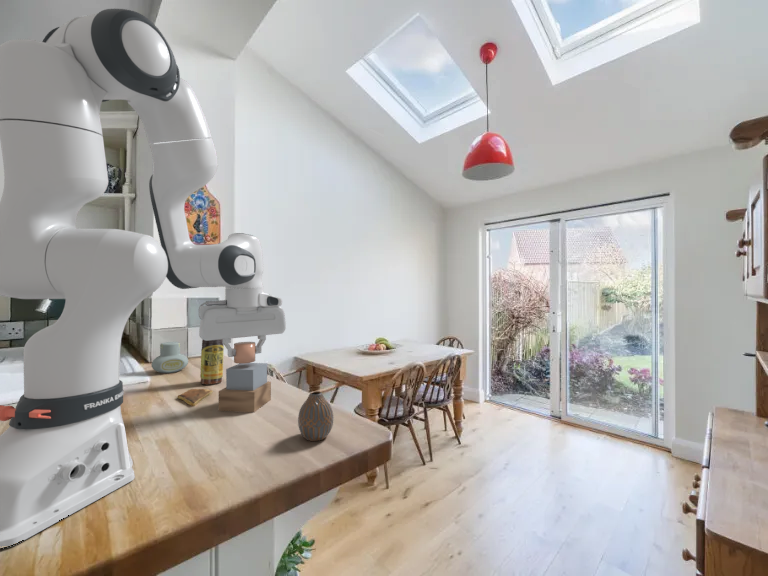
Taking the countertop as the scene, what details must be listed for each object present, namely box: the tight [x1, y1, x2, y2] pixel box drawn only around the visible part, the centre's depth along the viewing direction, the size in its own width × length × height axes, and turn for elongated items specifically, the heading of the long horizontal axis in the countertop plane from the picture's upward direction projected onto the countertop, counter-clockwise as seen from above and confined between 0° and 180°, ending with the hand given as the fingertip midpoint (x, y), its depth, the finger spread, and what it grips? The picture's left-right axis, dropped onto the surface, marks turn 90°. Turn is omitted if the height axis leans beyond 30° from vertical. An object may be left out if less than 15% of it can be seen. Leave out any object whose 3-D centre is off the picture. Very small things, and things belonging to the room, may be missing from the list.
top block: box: [225, 362, 268, 391], centre depth 87 cm, size 7×7×5 cm
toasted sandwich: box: [177, 388, 214, 407], centre depth 91 cm, size 11×8×2 cm
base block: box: [218, 381, 272, 413], centre depth 87 cm, size 9×9×5 cm
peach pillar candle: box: [233, 341, 256, 364], centre depth 87 cm, size 5×5×4 cm
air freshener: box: [151, 341, 189, 374], centre depth 121 cm, size 11×8×10 cm
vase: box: [297, 390, 334, 442], centre depth 68 cm, size 7×7×9 cm
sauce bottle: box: [199, 339, 225, 386], centre depth 106 cm, size 6×6×20 cm
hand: (245, 354), depth 87 cm, fingers closed on peach pillar candle, 5 cm apart
